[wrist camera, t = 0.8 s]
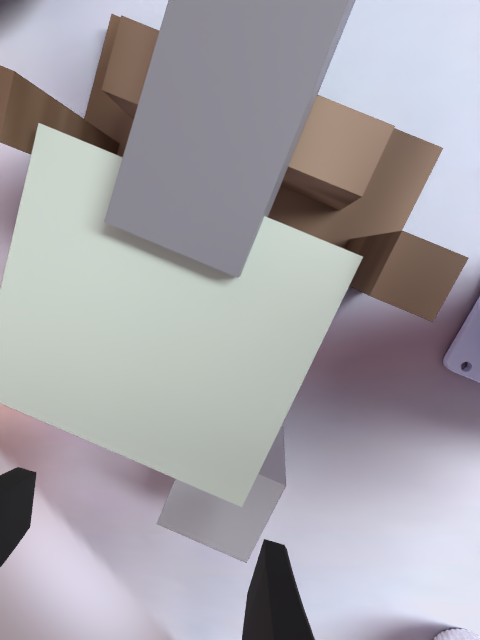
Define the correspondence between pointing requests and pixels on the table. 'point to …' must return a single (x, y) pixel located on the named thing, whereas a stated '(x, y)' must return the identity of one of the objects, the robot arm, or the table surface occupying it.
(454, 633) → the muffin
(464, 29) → the table surface
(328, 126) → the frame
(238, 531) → the granite cube
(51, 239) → the trapdoor
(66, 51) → the table surface
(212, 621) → the table surface
